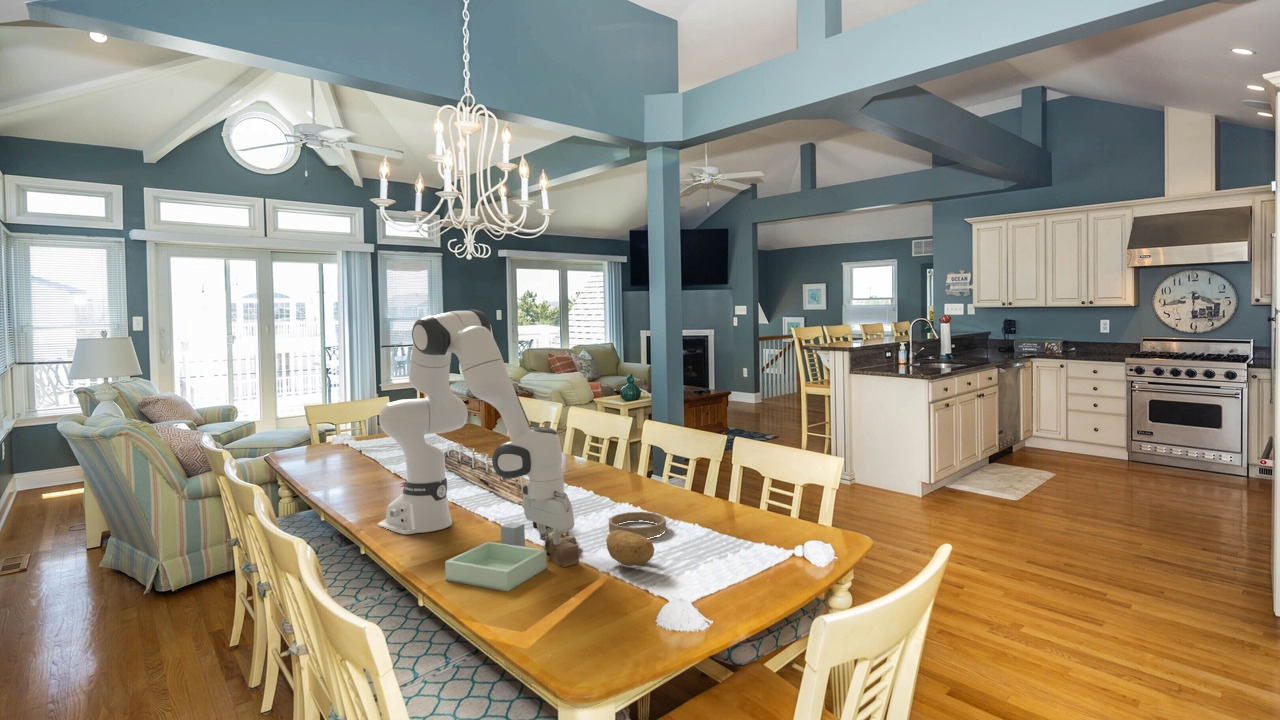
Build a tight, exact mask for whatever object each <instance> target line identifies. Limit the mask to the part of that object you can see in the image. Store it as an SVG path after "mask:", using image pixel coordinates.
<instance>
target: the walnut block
mask: <svg viewBox="0 0 1280 720" xmlns="http://www.w3.org/2000/svg"><path fill="white" fill-rule="evenodd" d="M549 549H550V553H549V561H550V562H552V563H553V564H556V565H558V566H559V567H563V568H567V567H570V566H573V565H578V564H580V557H579V555H580V554H579V552H580V551H579V548H578V545H576V544H573V543H570V542H568V541H565V540H563V541H560V544H559V545H554V544H552V543H550V544H549Z"/></svg>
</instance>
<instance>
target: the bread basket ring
mask: <svg viewBox="0 0 1280 720" xmlns="http://www.w3.org/2000/svg"><path fill="white" fill-rule="evenodd" d="M639 520H643V521H649V522H654V523H657V525H655V524H651V525H650V526H637V527H636V526H633V527H631V526H624V525H617V524H619V523H623V522H627V521H639ZM615 530H623V531H628V532H631V533H636V534H638V535H641V536H643V537H645V538H650V537H654V536H657V535H660V534H662V533H663V532H664V531H665V530H666V531H667V520H666V517H665V516H663V515H662V514H661V515H660V514H658V513H656V512H647V511H629V512H623V513H619V514H615V515H613V516H611V517H609V518H608V532H609V533H611V532H613V531H615ZM609 533H608V534H609Z"/></svg>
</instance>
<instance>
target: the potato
mask: <svg viewBox="0 0 1280 720" xmlns="http://www.w3.org/2000/svg"><path fill="white" fill-rule="evenodd" d="M605 541H606V549H607V551H608V553H609V557H611V559H613V560H615V561H616V562H618V563H620V564H621V565H622V566H625V567H634V566H635V567H636V566H643V565H645V564H646V563H648V562H650V560H652V559H653V557H654V555H655V554H654V553H655V547H654V545H653V542H652V541H651V539H647V538H645V537H643V536H641V535H638V534H636V533H631V532H628V531H623V530H615V531H613V532H611V533H610V534H609V533H608V535H607V537H606V540H605Z"/></svg>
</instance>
